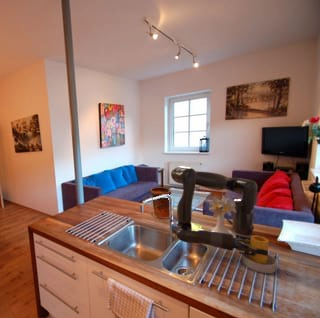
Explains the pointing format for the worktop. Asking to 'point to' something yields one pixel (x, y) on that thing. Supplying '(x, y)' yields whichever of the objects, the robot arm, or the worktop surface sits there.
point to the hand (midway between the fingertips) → (265, 249)
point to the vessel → (161, 203)
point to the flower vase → (221, 212)
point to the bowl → (262, 268)
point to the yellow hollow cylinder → (260, 244)
